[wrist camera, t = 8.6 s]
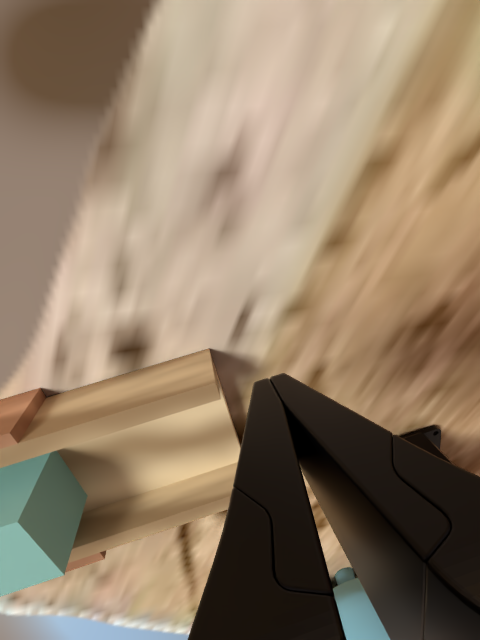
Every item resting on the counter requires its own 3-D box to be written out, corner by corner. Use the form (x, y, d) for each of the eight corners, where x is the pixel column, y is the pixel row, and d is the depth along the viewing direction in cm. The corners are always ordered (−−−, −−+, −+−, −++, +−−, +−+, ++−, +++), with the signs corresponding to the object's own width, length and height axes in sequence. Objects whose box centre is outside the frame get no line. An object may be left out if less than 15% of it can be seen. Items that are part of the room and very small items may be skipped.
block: (87, 495, 22) (64, 575, 18) (16, 518, 22) (-26, 605, 17) (53, 446, 20) (17, 521, 16) (-25, 470, 20) (-86, 554, 15)
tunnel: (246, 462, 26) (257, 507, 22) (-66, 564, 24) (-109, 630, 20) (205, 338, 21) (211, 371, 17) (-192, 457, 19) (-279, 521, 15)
